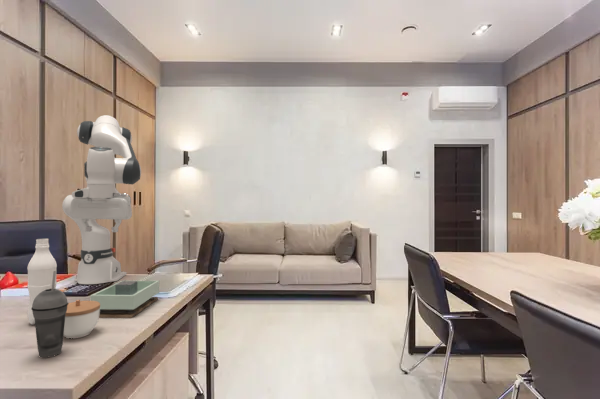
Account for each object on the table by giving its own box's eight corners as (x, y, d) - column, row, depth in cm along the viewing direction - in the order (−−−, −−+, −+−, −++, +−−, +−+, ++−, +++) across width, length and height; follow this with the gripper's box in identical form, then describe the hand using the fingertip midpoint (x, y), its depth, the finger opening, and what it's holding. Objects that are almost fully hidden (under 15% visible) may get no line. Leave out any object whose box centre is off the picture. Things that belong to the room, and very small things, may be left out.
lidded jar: (60, 345, 90) (60, 309, 90) (49, 334, 97) (49, 300, 97) (106, 334, 97) (105, 300, 97) (93, 324, 105) (92, 292, 105)
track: (103, 298, 130) (103, 295, 130) (157, 299, 130) (157, 296, 130) (67, 317, 110) (67, 314, 110) (131, 318, 110) (131, 314, 110)
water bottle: (59, 322, 106) (59, 239, 106) (29, 328, 101) (29, 241, 101) (54, 316, 111) (54, 237, 111) (25, 322, 106) (25, 239, 106)
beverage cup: (48, 346, 89) (48, 267, 89) (75, 347, 88) (75, 268, 88) (23, 359, 82) (22, 273, 82) (52, 361, 81) (52, 274, 81)
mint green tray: (122, 295, 130) (122, 280, 130) (159, 295, 130) (159, 280, 130) (90, 313, 110) (90, 295, 110) (133, 313, 110) (133, 295, 110)
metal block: (122, 295, 123) (122, 281, 123) (137, 295, 123) (137, 281, 123) (115, 299, 118) (115, 284, 118) (130, 299, 118) (130, 284, 118)
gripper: (135, 193, 128) (135, 231, 129) (78, 191, 128) (78, 229, 129) (126, 193, 122) (126, 233, 122) (67, 192, 122) (67, 232, 122)
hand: (101, 231), depth 125 cm, fingers open, 8 cm apart
